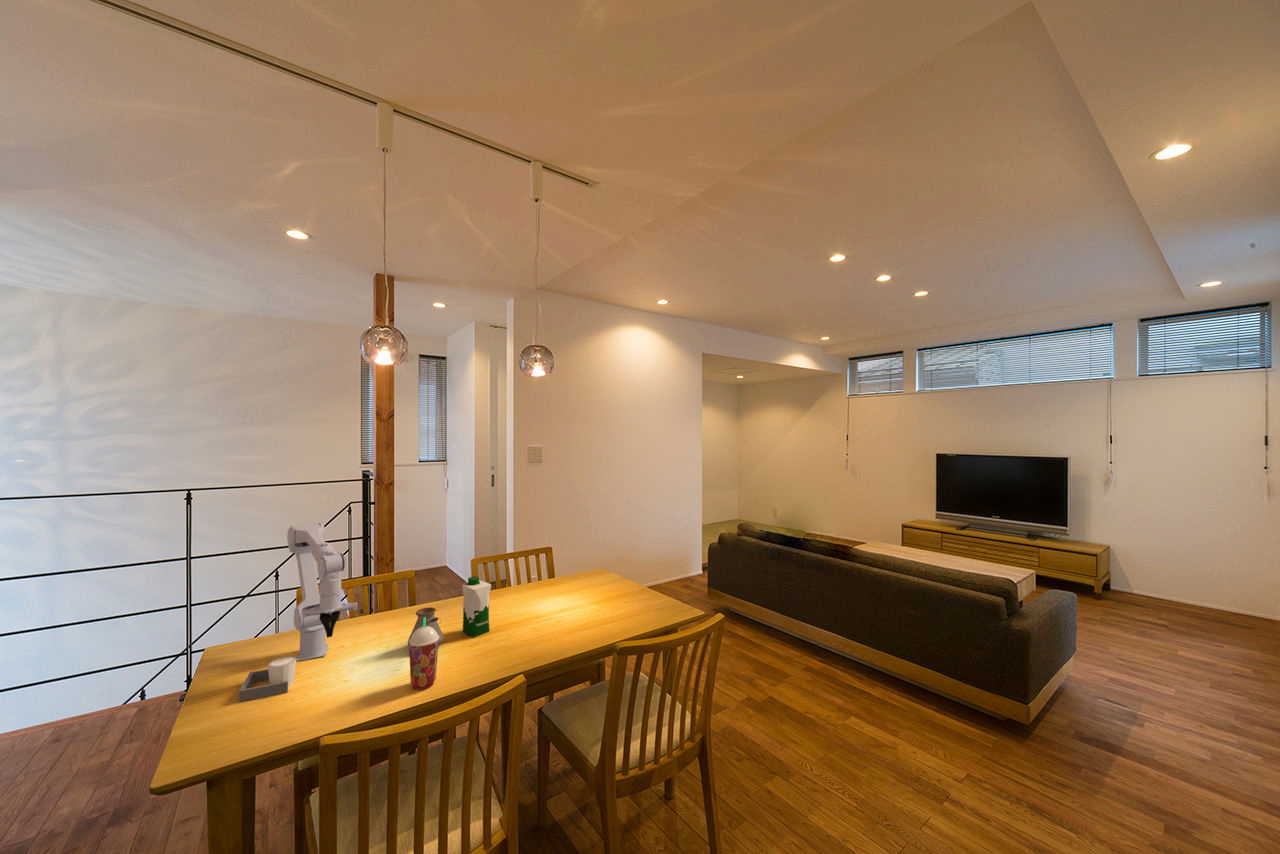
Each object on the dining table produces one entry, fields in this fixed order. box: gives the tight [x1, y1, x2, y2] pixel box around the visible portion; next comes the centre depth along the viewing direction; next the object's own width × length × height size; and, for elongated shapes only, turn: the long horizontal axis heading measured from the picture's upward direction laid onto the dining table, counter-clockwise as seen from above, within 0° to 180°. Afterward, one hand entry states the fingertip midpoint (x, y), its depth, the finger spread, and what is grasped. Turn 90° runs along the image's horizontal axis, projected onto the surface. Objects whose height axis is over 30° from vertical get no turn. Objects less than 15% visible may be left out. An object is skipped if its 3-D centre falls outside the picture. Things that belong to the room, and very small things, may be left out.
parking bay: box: [237, 668, 296, 703], centre depth 138 cm, size 12×11×3 cm
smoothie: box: [408, 617, 440, 691], centre depth 141 cm, size 8×8×20 cm
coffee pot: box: [407, 606, 444, 646], centre depth 161 cm, size 21×12×15 cm, turn 37°
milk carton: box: [462, 576, 492, 638], centre depth 178 cm, size 9×9×20 cm
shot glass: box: [267, 655, 297, 687], centre depth 140 cm, size 7×7×7 cm
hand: (329, 635), depth 150 cm, fingers closed
